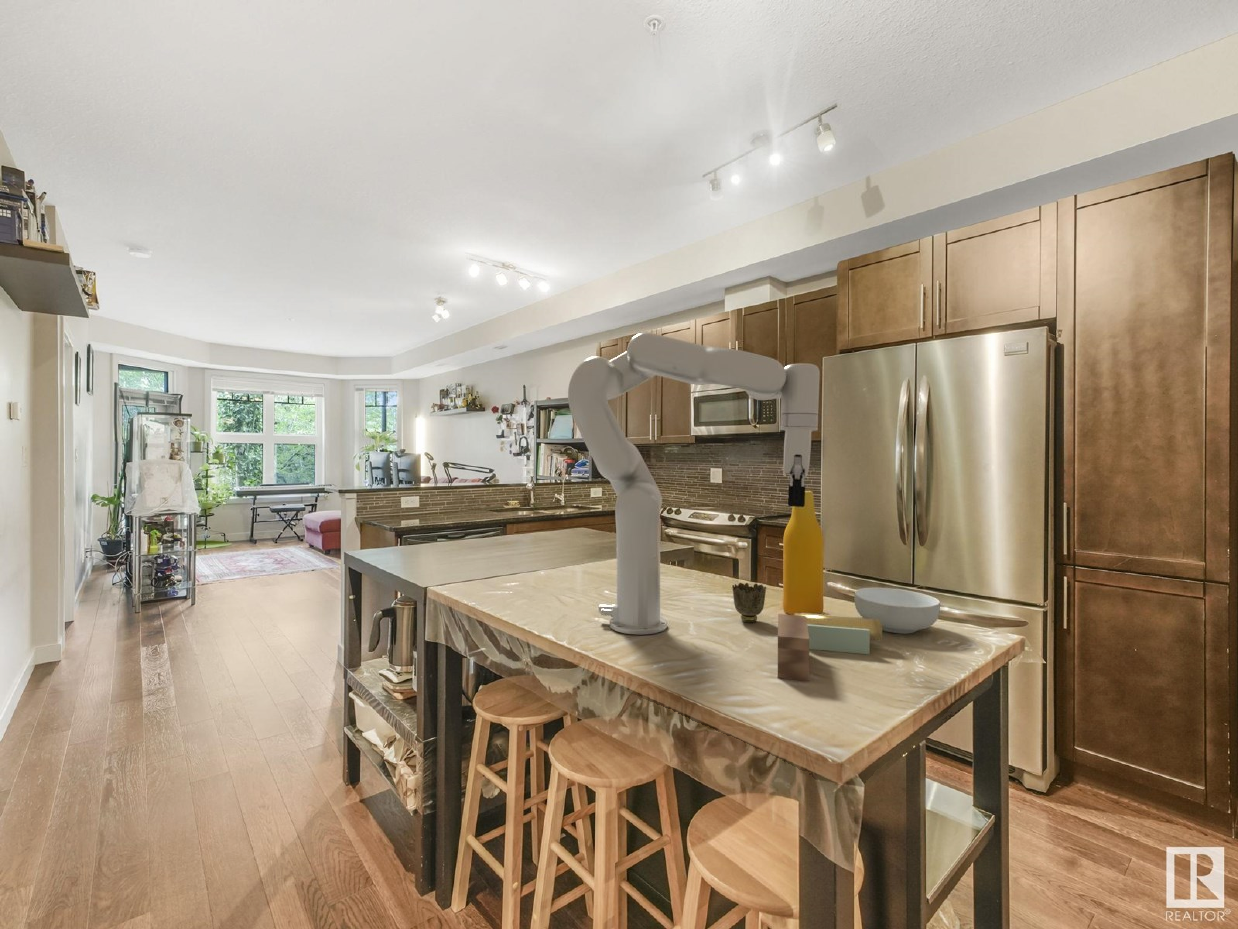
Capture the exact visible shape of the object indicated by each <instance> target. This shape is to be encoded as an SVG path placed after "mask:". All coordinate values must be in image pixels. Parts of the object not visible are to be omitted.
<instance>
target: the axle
mask: <svg viewBox="0 0 1238 929" xmlns="http://www.w3.org/2000/svg"><path fill="white" fill-rule="evenodd" d="M794 615H799V616H806V621H807V624H810V625H823V626H835V627H848V628H860V629H869V630H870V639H869V641H877V642H878V641H880V642H881V641H882V640H883V630H882V623H881V620H880V619H867V618H854V617H855V616H850V617H841V616H842V615H836V616H827V615H828V614H823V615H814V614H800V613H794Z"/></svg>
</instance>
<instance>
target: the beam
mask: <svg viewBox="0 0 1238 929" xmlns="http://www.w3.org/2000/svg"><path fill="white" fill-rule="evenodd" d="M777 615H778V616H777V617H778V618H777V619H778V620H777V678H778V679H787V680H795V681H796V680H797V681H804V682H805V681H806V682H809V681H810V649H809V634H808V628H807V621H806V616H799V615H789V614H787V613H786V614H783V613H778V614H777Z"/></svg>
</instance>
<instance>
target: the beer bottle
mask: <svg viewBox="0 0 1238 929" xmlns="http://www.w3.org/2000/svg"><path fill="white" fill-rule="evenodd" d="M813 492H814V491H810V490H805V506H804V507H795V506H791V507H792V509H791V516H790V518H789V521H788V523H787V525H786V527H785V529H784V533H783V539H782V542H783V543H782V545H783V547H782V548H783V550H782V552H783V554H782V555H783V560H782V561H783V563H782V566H783V568H782V570H783V571H782V573H783V576H782V577H783V578H782V582H783V584H782V609H783V611H784V613H786V615H794V613H800V614H801V613H810V614H823V613H824V549H825V548H824V544H825V542H824V534H823V531H822V528H821V526H820V524H819V522H818V519H817V517H816V508H815V501H814V500H815V499H814V493H813Z"/></svg>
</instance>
